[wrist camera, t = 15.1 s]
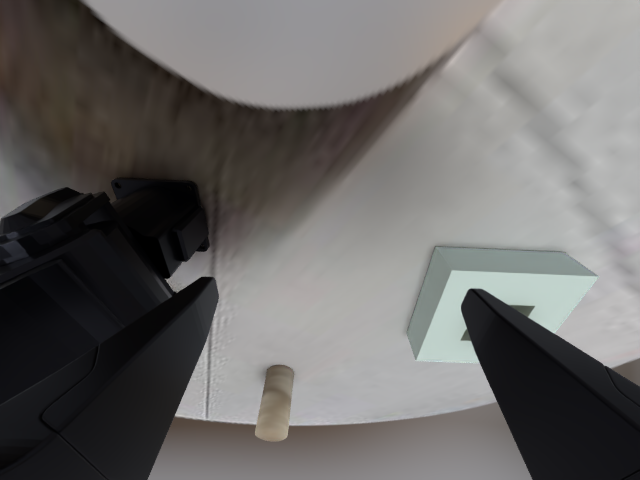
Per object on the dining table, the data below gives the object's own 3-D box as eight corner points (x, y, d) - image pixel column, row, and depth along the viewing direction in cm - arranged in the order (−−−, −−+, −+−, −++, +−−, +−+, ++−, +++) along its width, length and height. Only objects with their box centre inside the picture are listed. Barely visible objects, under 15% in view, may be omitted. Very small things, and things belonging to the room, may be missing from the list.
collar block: (406, 333, 30) (415, 360, 27) (435, 246, 23) (451, 270, 20) (508, 337, 30) (529, 365, 27) (564, 252, 24) (599, 276, 21)
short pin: (267, 380, 35) (256, 440, 29) (266, 364, 33) (253, 425, 27) (294, 381, 35) (288, 441, 29) (293, 365, 33) (287, 427, 27)
